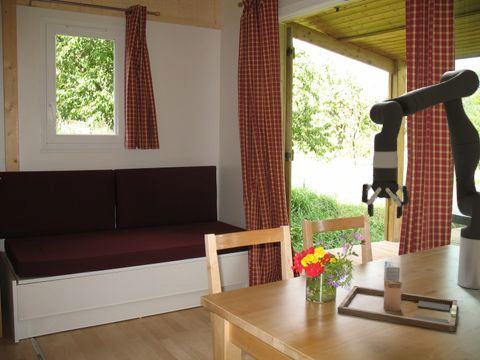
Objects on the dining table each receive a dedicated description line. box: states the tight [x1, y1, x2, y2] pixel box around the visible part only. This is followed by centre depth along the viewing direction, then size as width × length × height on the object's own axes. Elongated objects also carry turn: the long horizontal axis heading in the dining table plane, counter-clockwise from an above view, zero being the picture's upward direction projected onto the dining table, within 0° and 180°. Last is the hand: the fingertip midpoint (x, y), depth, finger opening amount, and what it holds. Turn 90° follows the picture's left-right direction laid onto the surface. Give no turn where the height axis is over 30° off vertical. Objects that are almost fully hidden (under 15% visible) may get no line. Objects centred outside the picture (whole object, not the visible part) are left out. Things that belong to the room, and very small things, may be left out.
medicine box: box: [383, 260, 401, 287], centre depth 175 cm, size 8×4×9 cm, turn 168°
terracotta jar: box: [383, 280, 403, 312], centre depth 156 cm, size 5×5×8 cm
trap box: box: [337, 285, 458, 333], centre depth 156 cm, size 23×32×2 cm
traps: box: [413, 300, 451, 324], centre depth 152 cm, size 20×9×1 cm, turn 155°
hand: (384, 217), depth 162 cm, fingers open, 8 cm apart
